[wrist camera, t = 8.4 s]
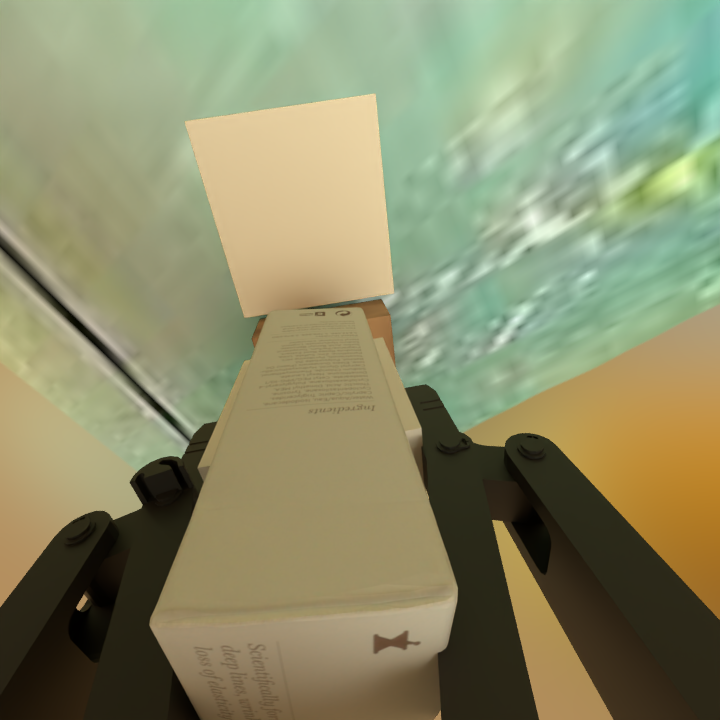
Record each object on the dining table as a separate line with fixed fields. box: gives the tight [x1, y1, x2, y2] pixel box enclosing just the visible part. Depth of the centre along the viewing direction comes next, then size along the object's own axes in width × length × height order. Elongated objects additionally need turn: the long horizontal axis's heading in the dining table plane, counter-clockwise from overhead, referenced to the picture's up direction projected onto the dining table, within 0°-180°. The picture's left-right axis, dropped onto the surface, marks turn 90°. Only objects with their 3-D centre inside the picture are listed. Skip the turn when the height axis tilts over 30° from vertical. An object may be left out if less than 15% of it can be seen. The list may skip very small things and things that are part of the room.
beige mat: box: [185, 94, 394, 318], centre depth 25 cm, size 12×13×1 cm
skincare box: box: [149, 307, 458, 720], centre depth 11 cm, size 6×4×12 cm
